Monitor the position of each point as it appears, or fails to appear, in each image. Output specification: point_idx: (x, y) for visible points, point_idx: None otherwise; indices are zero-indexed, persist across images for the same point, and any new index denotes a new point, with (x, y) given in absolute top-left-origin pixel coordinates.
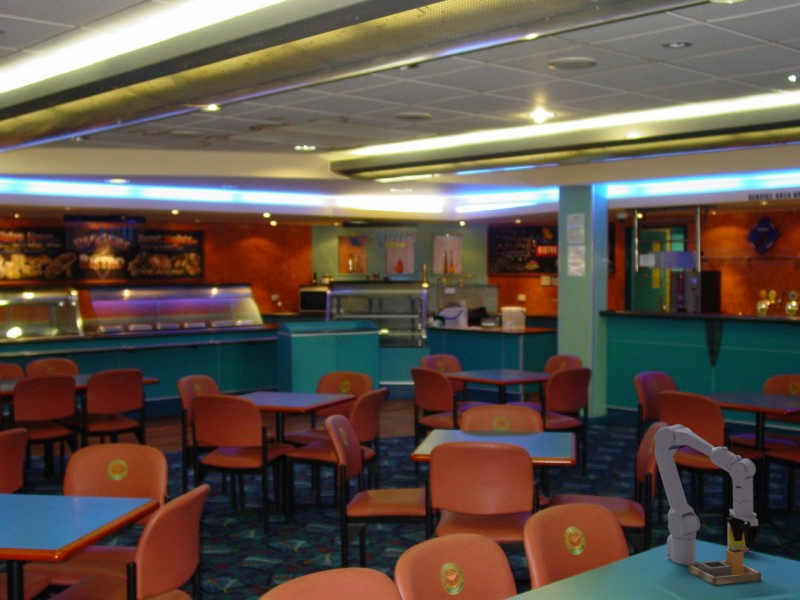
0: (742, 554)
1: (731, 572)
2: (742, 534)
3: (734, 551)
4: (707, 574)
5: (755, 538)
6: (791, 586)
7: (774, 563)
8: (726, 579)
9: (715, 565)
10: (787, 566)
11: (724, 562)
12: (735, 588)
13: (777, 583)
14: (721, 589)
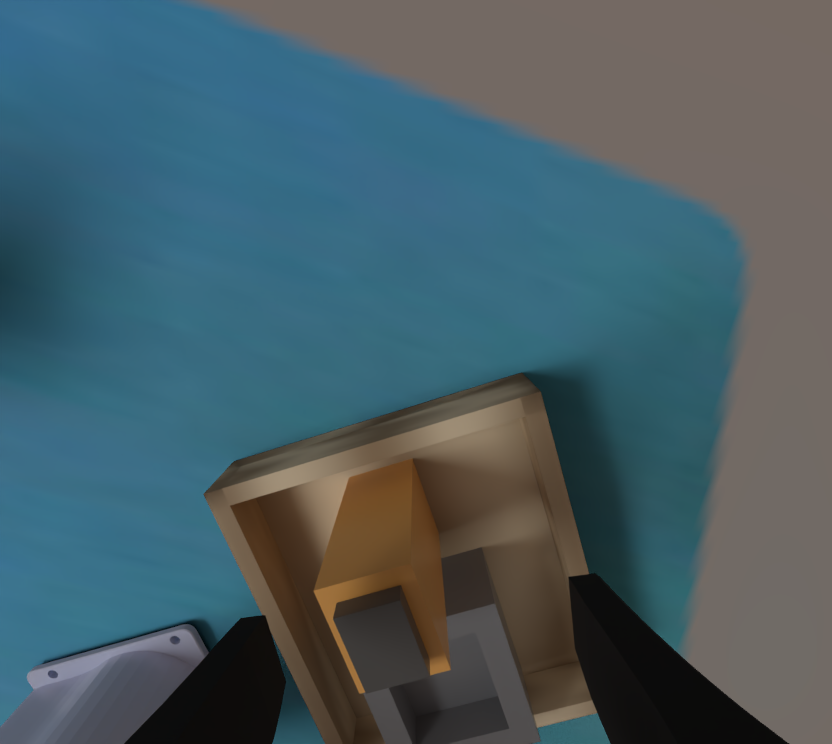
0: (413, 555)
1: (487, 571)
2: (216, 684)
3: (424, 650)
4: (549, 723)
5: (698, 673)
6: (607, 181)
7: (27, 106)
8: None
9: None
10: (94, 16)
11: (258, 558)
12: (611, 547)
13: (534, 261)
14: None
